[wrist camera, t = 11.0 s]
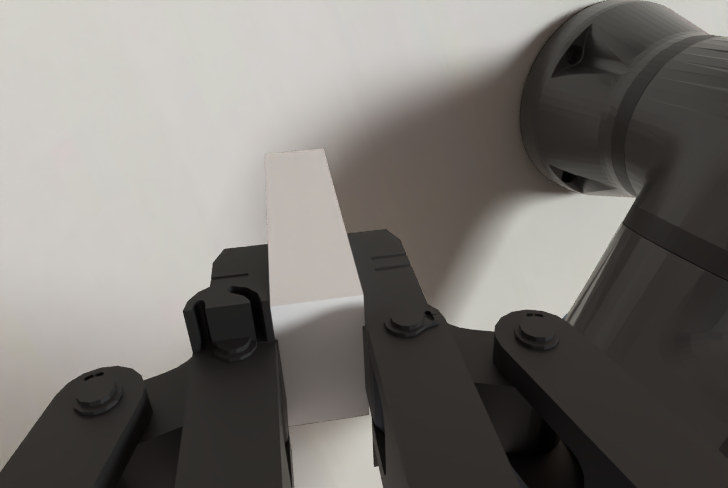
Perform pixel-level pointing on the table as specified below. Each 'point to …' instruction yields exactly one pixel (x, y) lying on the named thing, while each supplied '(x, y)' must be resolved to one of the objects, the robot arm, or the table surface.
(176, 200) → the table surface
